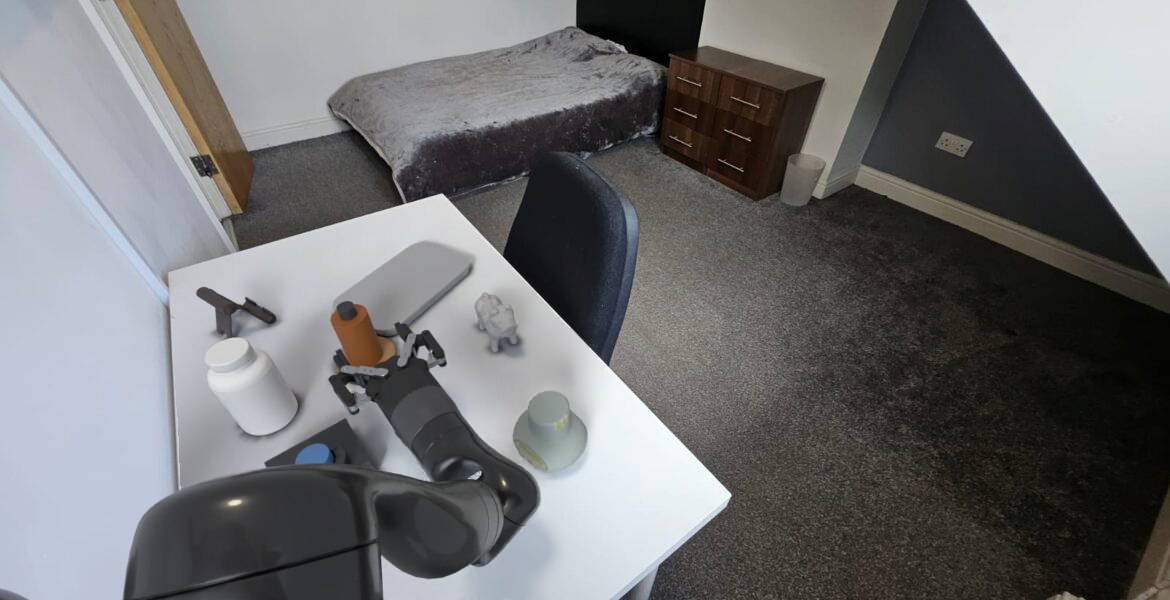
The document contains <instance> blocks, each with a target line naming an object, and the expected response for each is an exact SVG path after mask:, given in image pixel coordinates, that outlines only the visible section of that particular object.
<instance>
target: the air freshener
mask: <svg viewBox="0 0 1170 600" xmlns="http://www.w3.org/2000/svg"><path fill="white" fill-rule="evenodd" d="M512 442H513V444H514V446H515V448H516V449H517V450H518V451H519V453H520V454H521V455H522V456H523V457H524V458H525V459H526V460H527V461H528V462H529V463H531V464H532V466H535V467H536V468H537V469H539V470H540V471H542V472H545V473H556V472H559V471H563V470H566V469H567V468H569V467H571V466H572V465H573V464H575V463H576V462H577V461H578V460H579V459H580V458H581V456H582V455H583V453H584V452H585V449H586V448H587V443H588V429H587V425H586V424H585V423H584V421H583V420H582V419H581V417H579V416H578V415H577V414H576V413H575V412H574V411H573V410H572V409H571V405H570V401H569V399H568V398H567V397H566V396H565V395H564V394H562V393H560V392H558V391H554V390H545V391H542V392H539V393H537V394H536V395H534V396H533V397H532V399H530V400H529V401H528V405H527V409H526V410H525V411H523V413H522V414H520V416H519V417H518V419H517V420H516V422H515V424H514V427H513V430H512Z"/></svg>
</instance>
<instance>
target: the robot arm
mask: <svg viewBox="0 0 1170 600" xmlns="http://www.w3.org/2000/svg"><path fill="white" fill-rule="evenodd" d="M394 325H395V328H396V331H397V335H398V336H399V337H400V339H401V340H402V341H403V342H404V343H403V344H402V349H401V353H400V354H398V355H397V354H396V355H394V356H392V357H390V358H389V359H388V360H386V361H383V362H380V363H378V364H376V365H374V366H375V367H374V368H372V367H367V366H359V367H354V366H351V365H350V363H349V361H348V360H347V358H346V357H345V355H344V354H343V352H342V350H343V349H341V348H338V349H337V350H335V354H334V355H332V356H333V357H332V359H333V361H334V364H335V363H336V364H335V366H336V365H337V367H338V369H339V370H340V371H339V373H338V372H337V374H332V375H330V376H329V377H328V379H327V380H328V381H327V382H329V385H331V387H332V391H333V392H334V394H335V395H336V396H337V398H338V399H339V400H340V402H341V403H342V405H343V406H344V407H345V409H346V410H347V412H348V413H349V414H350V415H351V416H356V415H358V414H359V413H360V412H361V409H360V408H362V407H363V406H364V405H366V404H368V403H369V402H372V403H374V404H376V405H377V406H378V408H379V409H380V411H381V412H382V415H383V416H384V417H385V419H386V420H387V423H389V425H390V427H391V428H392V429H393V431H394V434H395V436H396V437H397V438H398V439H399V440H400V441H401V443H402V444H403V446H405V447H406V448H407V450H409V452H411V454H412V455H413V457H414V458H415V460H416V461H417V463H418V465H419V467H420V468H421V469H422V471H423V472H424V474H425V475H426V477H427V478H428V480H429V481H428V480H424V479H419V478H417V477H413V476H410V475H406V474H405V475H404V474H401V473H396V472H391V471H386V470H381V469H378V468H375V469H372V468H367V467H362V466H356V465H347V464H336V463H303V464H292V465H283V466H274V467H267V468H266V467H261V468H255V469H254V468H253V469H250V470H245V471H240V472H236V473H230V474H227V475H222V476H218V477H214V478H210V479H207V480H203V481H201V482H197V483H195V484H192V485H188V486H186V487H184V488H181V489H179V490H178V489H177V490H176V491H173V492H172V493H170V494H168V495H167V496H165V497H163V498H162V499H160V500H158V501H157V502H155V503H154V504H153V505H151V506H150V507H149V508H148V509H147V510H146V511H145V512H144V513H143V515H142V516H141V518H140V519H139V522H138V523H137V526H136V528H135V531H134V535H133V538H132V542H131V546H130V550H129V554H128V559H127V560H128V561H127V564H126V569H125V578H124V585H123V591H122V600H384V584H383V583H384V582H383V566H382V565H383V564H382V558H383V559H385V561H387V562H388V563H389V564H391V565H392V566H394V568H396V569H398V571H401V572H402V573H403V574H407V575H409V576H411V577H414V578H418V579H425V580H434V579H444V578H446V577H449V576H452V575H454V574H456V573H459V572H460V571H462V570H464V569H465V568H467V567H469V566H473V567H475V568H476V567H477V568H482V567H485V566H487V565H488V564H489V563H491V562H492V561H494V560H495V559H496V558H497V557H498V556H499V555H500V553H502V551H504V549H505V548H506V547H507V546H508V545H509V543H510V542H511V541H512V540H513V539H514V538H515V537H516V535H517V534H518V533H519V532H520V531H521V530H522V528H524V526H526V524H527V523H528V522H529V521H530V520H531V519H532V518H533V516H534V515H535V514H536V513H537V511H538V509H539V508H540V507H541V500H542V493H541V488H540V485H539V482H538V481H537V478H535V476H534V475H533V474H532V473H531V472H530V471H529V470H527V469H526V468H525V467H523V466H521V465H520V464H518V463H517V462H515V461H513V460H511V459H510V458H508V457H507V456H506V455H503V454H502V453H500V452H499V451H498V450H496V449H494V448H493V447H492V446H490V445H489V444H488V443H487V442H486V441H485V440H484V439H483V438H482V437H481V436H480V435H479V434H478V433H477V431H475V429H474V428H473V426H471V424H470V423H469V422H468V421H467V419H466V418H465V417H464V415H463V414H462V413H461V411H460V408H459V407H458V405H457V404H456V402H455V401H454V400H453V398H452V397H451V396H450V394H449V393H448V392H447V391H446V390H445V389H444V387H443V386H442V385H441V384H440V382H439V381H438V379H436V377H435V376H434V375H433V374H432V372H431V371H430V370H431V369H432V368H435V367H437V366H438V367H440V368H444V367H447V365H448V361H447V357H446V354H445V350H444V349H443V348H442V346H441V345H440V343H439V342H438V341H437V339H436V338H435V336H434V335H433V334H432V332H431V331H430V330H429V329H424V330H422V331H421V333H415V332H413V330H412V329H411V328H410V327H409V325H408V326H407V325H406V324H405V323H403V324H400V322H397V323H395V324H394ZM421 347H425V348H426V350H427V352H428V353H427V359H424V358H422V357H421V358H420V357H418V355H419V351H420V348H421ZM348 384H349V385H353V386H358V387H360V388H362V389H364V392H363V393H360V392H358V391H355V390H351V391H350V389H349V388H348V387H347V385H348ZM479 472H480V475H479V476H478V477H477V478H471V477H472V476H474V475H475V474H477V473H479ZM0 600H30V599H29V598H27V597H25V596H23V595H22V594H19V593H17V592H15V591H11V590H9V589H6V588H1V587H0Z"/></svg>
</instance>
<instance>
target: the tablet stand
mask: <svg viewBox="0 0 1170 600" xmlns="http://www.w3.org/2000/svg"><path fill="white" fill-rule="evenodd" d="M195 295H196V296H197V298H199V299H200V300H202V301H204V302H205V303H207V304H209V305H210V306H212V307H213V308H214V311H215V325H216V332H217V334H219V335H223V331H224V332H225V334H226V339H229V338H233V321H232V320H233V319H232V315H234V314H235V313H236V312H237V311H239V310H241V311H243V312H245V313H247V314H248V315H250V316H252V317H254V318H256V319H257V320H260V321H261V322H263V323H265V324H267V325H273V324H275V323H276V321H277V319H278V318H277V316H276V314H274V312H272V311H271V310H270V309H268V308H266V307H264V306H260V305H259V304H258V303H257V302H256V301H254V300H252V299H251V298H249V297H247V296H245V297H244V300H245V302H244V303H243V304H240V303H237V302H235V301H233V300H231V299H229V298H227V297H226V296H225V295H222V294H220V293H218V292H217V291H215V289H212V288H209V287H207V286H201V287H199V288H198V289H197V290H196V292H195Z"/></svg>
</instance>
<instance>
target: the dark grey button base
mask: <svg viewBox="0 0 1170 600" xmlns="http://www.w3.org/2000/svg"><path fill="white" fill-rule="evenodd" d="M313 444H324V445H326V446H327V447H328V448H329V450H330V452H331V453H332V455H333V457H334V463H336V464H347V465H356V466H362V467H367V468H372V469H376V468H375V467H374V465H373V463H372V461H371V459H370V457H369V456H368V454H367V452H366V450H365V449H364V447H363V445H362V443H361V442H360V440H359V439H358V437H357V435H356V433H355V432H354V430H353V428H352V426H351V424H350V423H349V421H348V420H347V418H346V417H344V418H342V419H340V420H339V421H337V422H335V423H333V424H331V425H330V426H328V427H326V428H325V429H323V430H320V431H319V432H317V433H315V434H314V435H311V436H309V437H308V438H306V439H304V440H302V441H300V442H299V443H297V444H295V445H293V446H291V447H290V448H287V449H286V450H284V451H282V452H281V453H279V454H277V455H275V456H273V457H271V458H269V459H267V460H266V461H264V462H263V464H264V466H265V468H267V467H274V466H283V465H292V464H295V461H296V458H297V456H298V454H299V453H300V452H301V451H302V450H303V449H305V448H306V447H308V446H310V445H313Z"/></svg>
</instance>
